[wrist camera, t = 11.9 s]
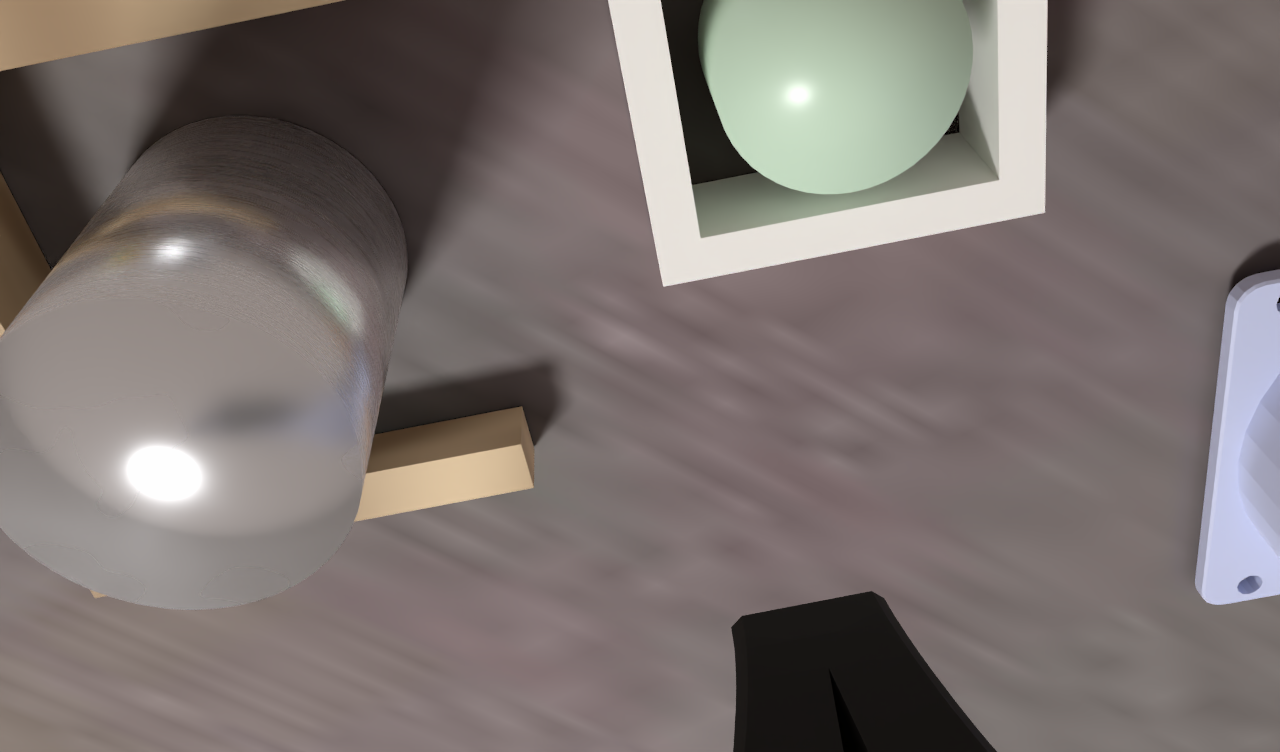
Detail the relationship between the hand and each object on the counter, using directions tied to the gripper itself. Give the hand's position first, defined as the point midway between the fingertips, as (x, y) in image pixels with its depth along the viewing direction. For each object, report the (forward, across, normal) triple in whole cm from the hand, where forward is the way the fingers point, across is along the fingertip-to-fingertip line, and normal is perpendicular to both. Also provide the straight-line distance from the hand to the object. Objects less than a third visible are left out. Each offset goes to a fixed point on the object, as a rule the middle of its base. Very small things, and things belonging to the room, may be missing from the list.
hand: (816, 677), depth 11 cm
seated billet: (+10, +7, -1) cm, 13 cm away
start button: (+10, -2, -3) cm, 11 cm away
